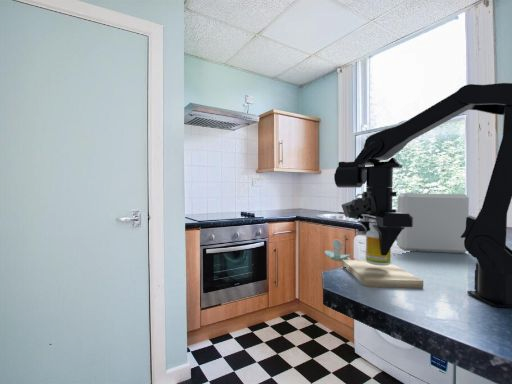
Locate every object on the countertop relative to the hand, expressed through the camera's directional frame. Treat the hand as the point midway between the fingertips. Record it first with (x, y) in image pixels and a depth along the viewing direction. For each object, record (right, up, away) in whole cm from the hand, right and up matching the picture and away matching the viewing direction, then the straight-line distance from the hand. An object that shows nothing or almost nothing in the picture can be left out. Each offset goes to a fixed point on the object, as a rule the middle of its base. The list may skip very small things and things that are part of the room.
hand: (378, 252), depth 63 cm
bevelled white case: (+32, -6, +30) cm, 44 cm away
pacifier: (-5, -6, +14) cm, 16 cm away
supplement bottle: (0, -3, 0) cm, 3 cm away
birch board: (0, -6, 0) cm, 6 cm away
